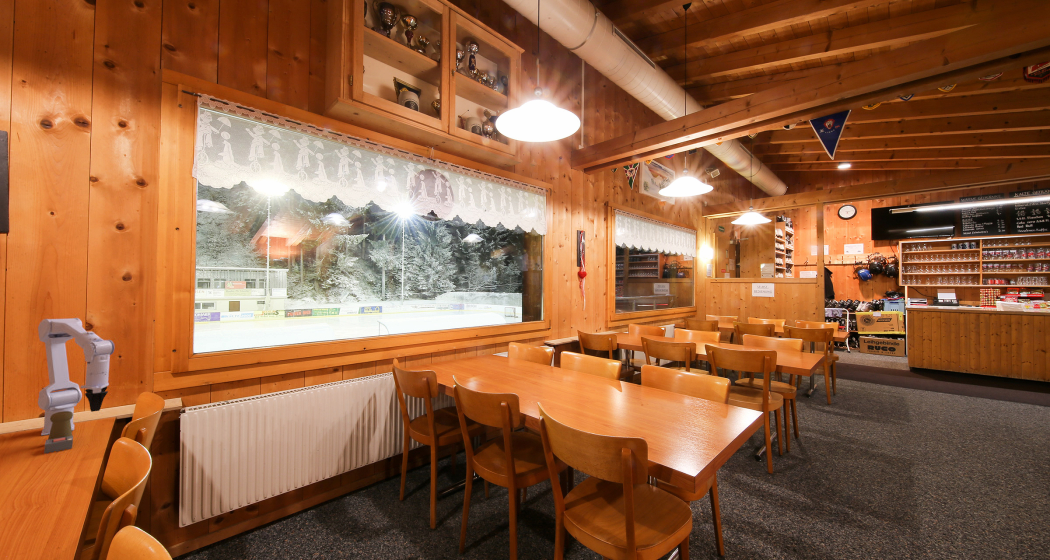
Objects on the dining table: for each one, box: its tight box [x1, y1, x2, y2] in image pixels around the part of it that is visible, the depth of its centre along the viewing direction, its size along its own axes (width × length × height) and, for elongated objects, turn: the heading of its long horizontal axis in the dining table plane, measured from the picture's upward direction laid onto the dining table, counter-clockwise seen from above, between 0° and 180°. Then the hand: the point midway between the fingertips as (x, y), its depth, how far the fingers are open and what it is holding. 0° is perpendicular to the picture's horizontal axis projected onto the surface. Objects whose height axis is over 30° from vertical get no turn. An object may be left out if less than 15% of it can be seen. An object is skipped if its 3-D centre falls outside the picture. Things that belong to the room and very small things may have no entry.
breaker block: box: [43, 435, 74, 455], centre depth 131 cm, size 6×6×3 cm
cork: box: [47, 411, 74, 440], centre depth 136 cm, size 6×6×11 cm
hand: (95, 408), depth 143 cm, fingers open, 7 cm apart
